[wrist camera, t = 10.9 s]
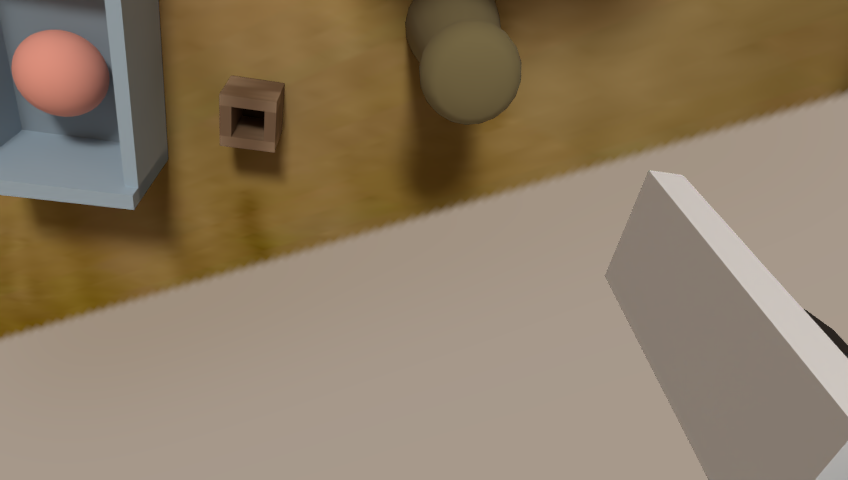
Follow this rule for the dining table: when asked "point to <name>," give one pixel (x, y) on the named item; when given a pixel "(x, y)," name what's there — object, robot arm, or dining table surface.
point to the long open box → (93, 131)
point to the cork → (463, 58)
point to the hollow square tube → (251, 129)
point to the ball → (60, 73)
